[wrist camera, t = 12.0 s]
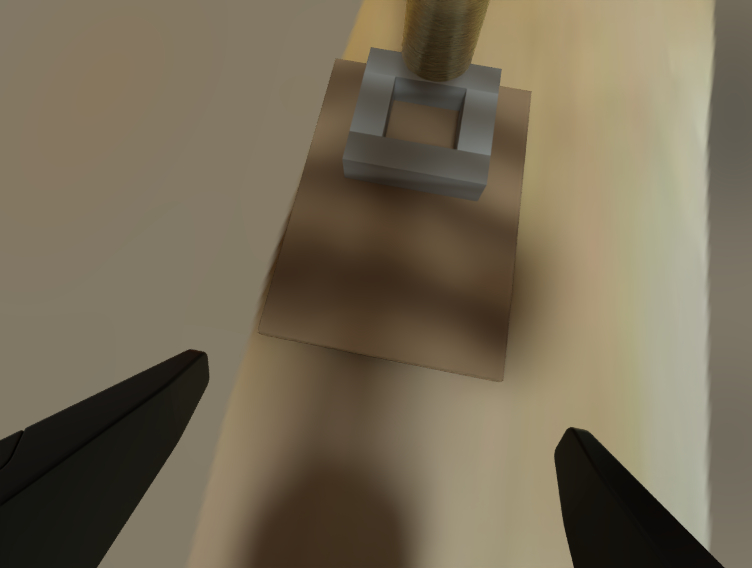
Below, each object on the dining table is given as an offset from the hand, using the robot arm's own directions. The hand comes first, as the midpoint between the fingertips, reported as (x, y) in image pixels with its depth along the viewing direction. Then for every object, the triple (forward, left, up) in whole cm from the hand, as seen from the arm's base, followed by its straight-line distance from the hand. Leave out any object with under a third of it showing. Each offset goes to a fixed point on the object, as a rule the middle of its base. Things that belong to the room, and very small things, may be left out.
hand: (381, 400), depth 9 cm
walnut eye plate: (+7, +10, -13) cm, 17 cm away
